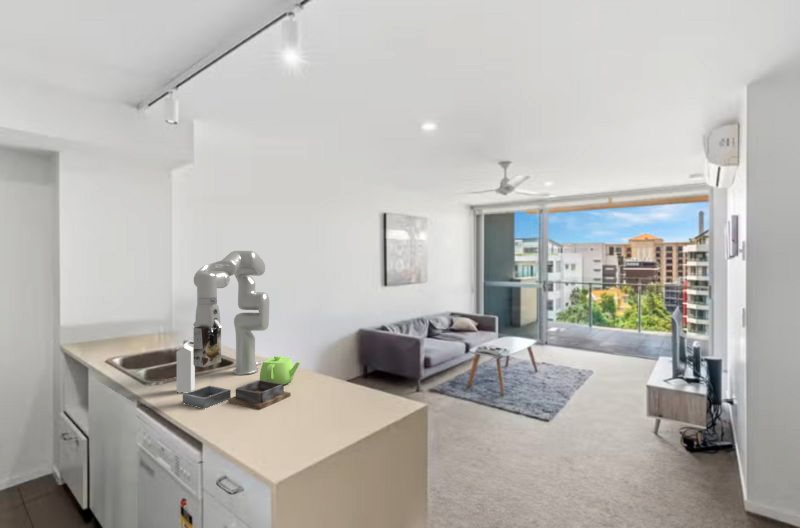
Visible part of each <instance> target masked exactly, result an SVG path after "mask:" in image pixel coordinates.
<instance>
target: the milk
mask: <svg viewBox="0 0 800 528" xmlns="http://www.w3.org/2000/svg"><path fill="white" fill-rule="evenodd" d="M194 388H195V389H196V366H194V365H193V346H191V345H189V342H188V341H186V342H185V343H183V347H181V348H180V349H178V350H177V351H176V393H177V392H191V391H192V390H193V389H194ZM195 389H194V390H195ZM194 390H193V391H194Z"/></svg>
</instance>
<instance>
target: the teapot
mask: <svg viewBox="0 0 800 528" xmlns="http://www.w3.org/2000/svg"><path fill="white" fill-rule="evenodd" d="M300 365H301V362H298V361H296V362H295V364H293V360H292V358H289V357H288V356H281V355H275V356H273V357H269V358H267V359H266V360H264V361H263V362H262V363H261V368H260V372H259V380H264V381H270V382H276V383H281V384H284V385H287V384H288V383H290V382H292V380H293V379H294V376H295V373H296V371H297V370H298V368H299V366H300Z"/></svg>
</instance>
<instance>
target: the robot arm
mask: <svg viewBox="0 0 800 528" xmlns="http://www.w3.org/2000/svg"><path fill="white" fill-rule="evenodd" d="M265 272H266V263H265V262H264V260H263V259H262V258H261V257H260V255H259V254H258V253H257V252H255V251H253V250H233V251H230V252H229V253H228V254H227V255H226V256H225V257H223V259H221V260H218V261H214V262H212V263H209V264H206V265H203V266H202V267H201V268H199V269H198V270H197V271H196V273H194V277H193V284H194V286H195V287H196V293H197V294H196V302H197V303H196V309H195V321H194V323H193V328H194V327H207V328H209V329H210V334H211V336H210V345H216V344H217V335H218V333H219V331H220V330H221V331H222V328H223V327H222V325H221V314H220V313H221V312H220V308H219V305H218V289H225V288H226V287H228V285H229V284H230V279H231V278H230V277H231V276H233V275H234V277H235V278H236V281H237V284H238V285H237V286H238V288H237V291H238V292H237V306H238V308H239V309H240V310H243V311H258V312H240V313H237V314H236V315H235V316H234V318H233V324H234V330H235V368H234V369H233V370H232V374H233V375H237V376H243V375H244V376H247V375H252V374H255V373H257V372H258V371H259V367H258V366H260V365H261V366H262V361H261V360H260V361H256V337H255V335H254V334H253V332H257V331H258V332H260V331H261V332H262V331H266V330H267V329H268V328H269V324H270V323H269V321H270V320H269V319H270V297H269V294H267V292H262V291H261V292H260V291H257V292H256V281H255V280H254V278H253V277H254V276H257V277H258V276H263V275H264V274H265ZM213 327H215V328H213ZM216 327H217V328H216ZM213 330H214V332H213Z"/></svg>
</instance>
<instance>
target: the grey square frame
mask: <svg viewBox="0 0 800 528" xmlns="http://www.w3.org/2000/svg"><path fill="white" fill-rule="evenodd" d="M231 391H232V390H231V389H228V388H223V387H218V386H215V385H207V386H203V387H200V388H198V389H194V390H193V391H191V392H188V393H182V404H183V403H185V404H189V405H188V406H190V405H193V406H192V407H194V406H197V407H196V408H198V407H200V408H199V409H202V408H204V409H203V410H206V409H208V408H211V407H214V406H216V405H219V404H221V403H224V402H226V400H227V401H228V399H229V398H232V396H231V393H232V392H231ZM208 395H211V396H208ZM205 396H206V397H205ZM203 397H204V398H203ZM223 401H224V402H223ZM220 402H221V403H220ZM218 403H219V404H218ZM185 404H184V405H185ZM215 404H216V405H215ZM213 405H214V406H213ZM210 406H211V407H210ZM205 408H206V409H205Z"/></svg>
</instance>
